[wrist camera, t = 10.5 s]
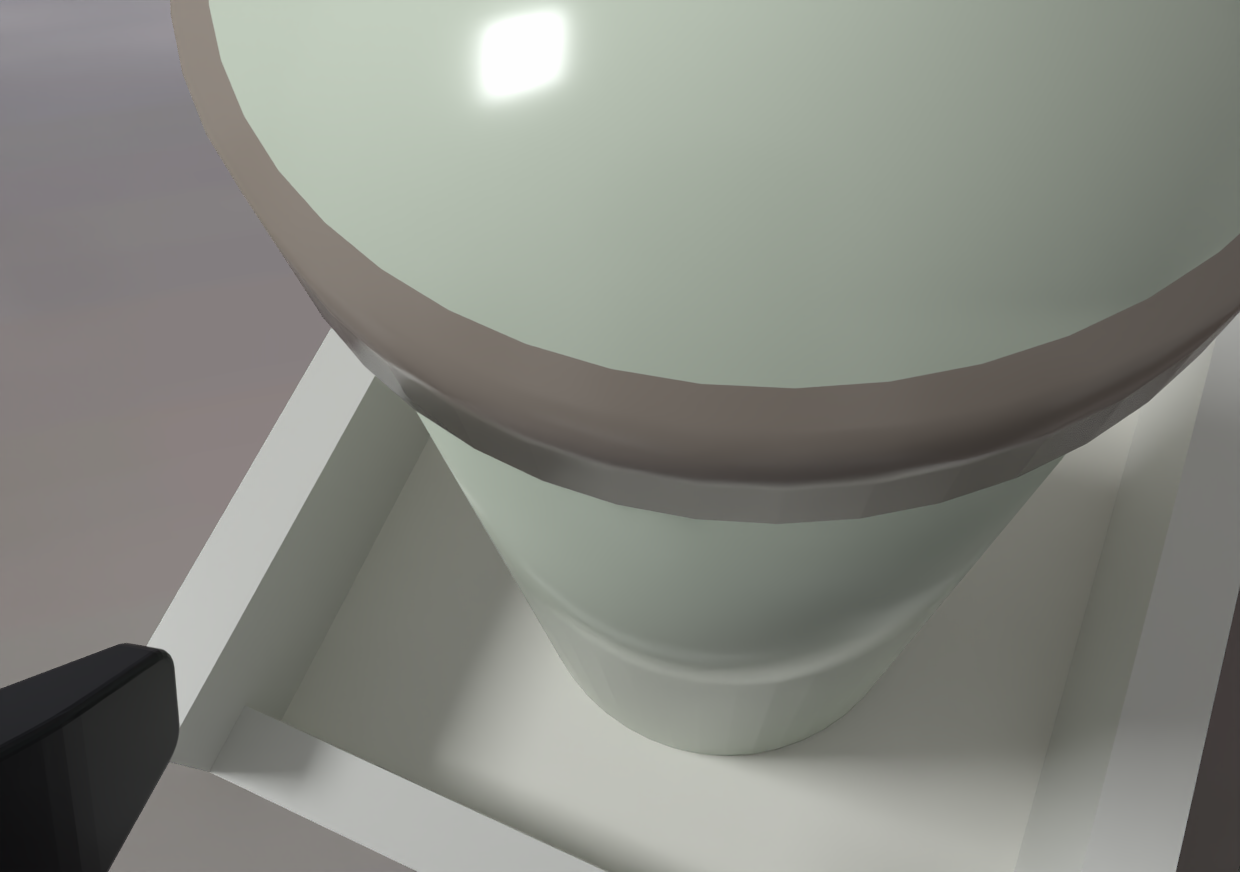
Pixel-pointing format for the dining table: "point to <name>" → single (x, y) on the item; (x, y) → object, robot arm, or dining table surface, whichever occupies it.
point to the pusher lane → (685, 781)
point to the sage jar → (742, 291)
